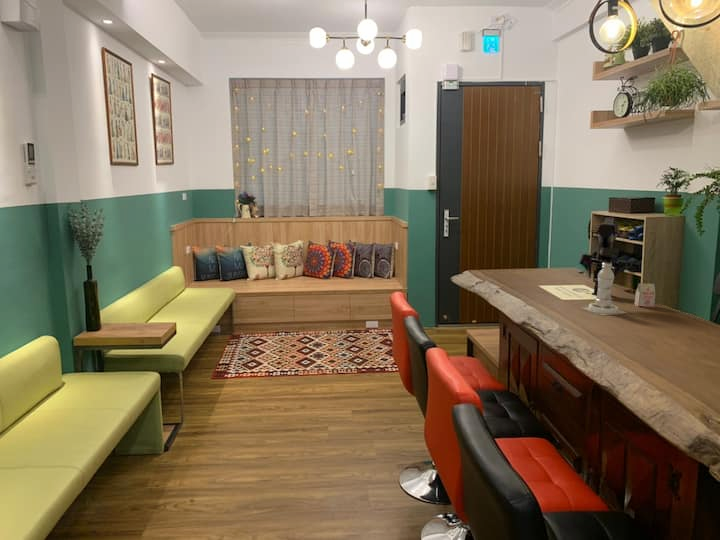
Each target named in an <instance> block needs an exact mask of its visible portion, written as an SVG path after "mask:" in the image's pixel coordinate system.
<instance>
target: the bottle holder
mask: <svg viewBox="0 0 720 540" xmlns="http://www.w3.org/2000/svg"><path fill="white" fill-rule="evenodd" d="M579 309H580V310H583V311H586V312H590V313H592V314H596V315H599V316H603V317H605V316H614V315H624V313H625V314H628V313H627V311H623V310H619V306H617V305H614V304H612V305H611V308H610V309H604V308H597V307H595V302H591V303H589V304H588V306H585V307H579Z"/></svg>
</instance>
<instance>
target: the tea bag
mask: <svg viewBox="0 0 720 540" xmlns="http://www.w3.org/2000/svg"><path fill="white" fill-rule="evenodd" d="M655 288H656V286H655V283H638V284H637V288H636V290H635V296H634V304H635V305H634V306H636V305H637V306H643V307H642V308H655V299H656V289H655ZM637 306H636V307H637Z"/></svg>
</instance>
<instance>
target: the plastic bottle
mask: <svg viewBox="0 0 720 540" xmlns="http://www.w3.org/2000/svg"><path fill="white" fill-rule="evenodd" d="M602 267H603V268H602V269H601V271H600V272H599V273H598V292H597V295H596V299H595V300H594V303H595V307H597V308H604V309H610V308H611V305H613V304H612V296H611V295H612V289H613V285H614V283H613V280H614V281H615V279H614V274H613V272H612V271H613V267H612V263H607V262H603V263H602ZM611 268H612V270H611Z"/></svg>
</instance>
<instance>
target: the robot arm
mask: <svg viewBox="0 0 720 540" xmlns="http://www.w3.org/2000/svg"><path fill="white" fill-rule="evenodd" d="M619 226H620V224H619V223H618V222H617V221H616V217H611V216H605V217H604V218H603V221H601V222H600V223H599V225H598V226H597V231H596V234H597V235H598V245H597V250H596V258H593V255H592V254H587V253H583V254H582V255H581V257H580V258H579V265H581V266H582V267H584V269H585V271H586V273H587V276H588V278H589V279H591V277H592V264H596V265H595V268H594V269H593V281H592V283H594V287H593V292H591V295H595V296H597V292H598V273H599V272H600V271H601V269H602V268H603V267H602V263H603V262H607V263H612V268H611V270H612V272H613V274H614V280H613V284H615V278H616V276H617V275H618V274H621V273H624V272H625V270H626V269H627V268H628V262H627V261H625V260H620V259H618V260H617V261H616V262H613V261H612V260H613V257H618V255H619V252H620V251H619V250H620V249H619V248H613V242H615V241H616V239H617V236H618V235H619V230H620V229H619V228H620V227H619ZM612 295H613V294H611V297H612Z"/></svg>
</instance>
